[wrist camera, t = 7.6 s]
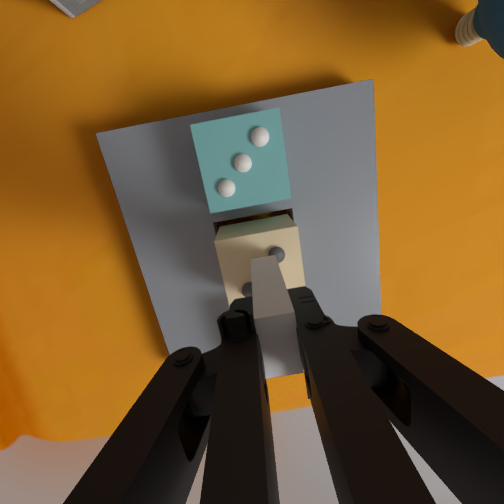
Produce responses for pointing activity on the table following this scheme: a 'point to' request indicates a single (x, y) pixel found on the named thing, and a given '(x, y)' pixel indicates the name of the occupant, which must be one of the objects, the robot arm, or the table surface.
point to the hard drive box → (74, 6)
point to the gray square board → (254, 209)
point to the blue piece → (483, 25)
